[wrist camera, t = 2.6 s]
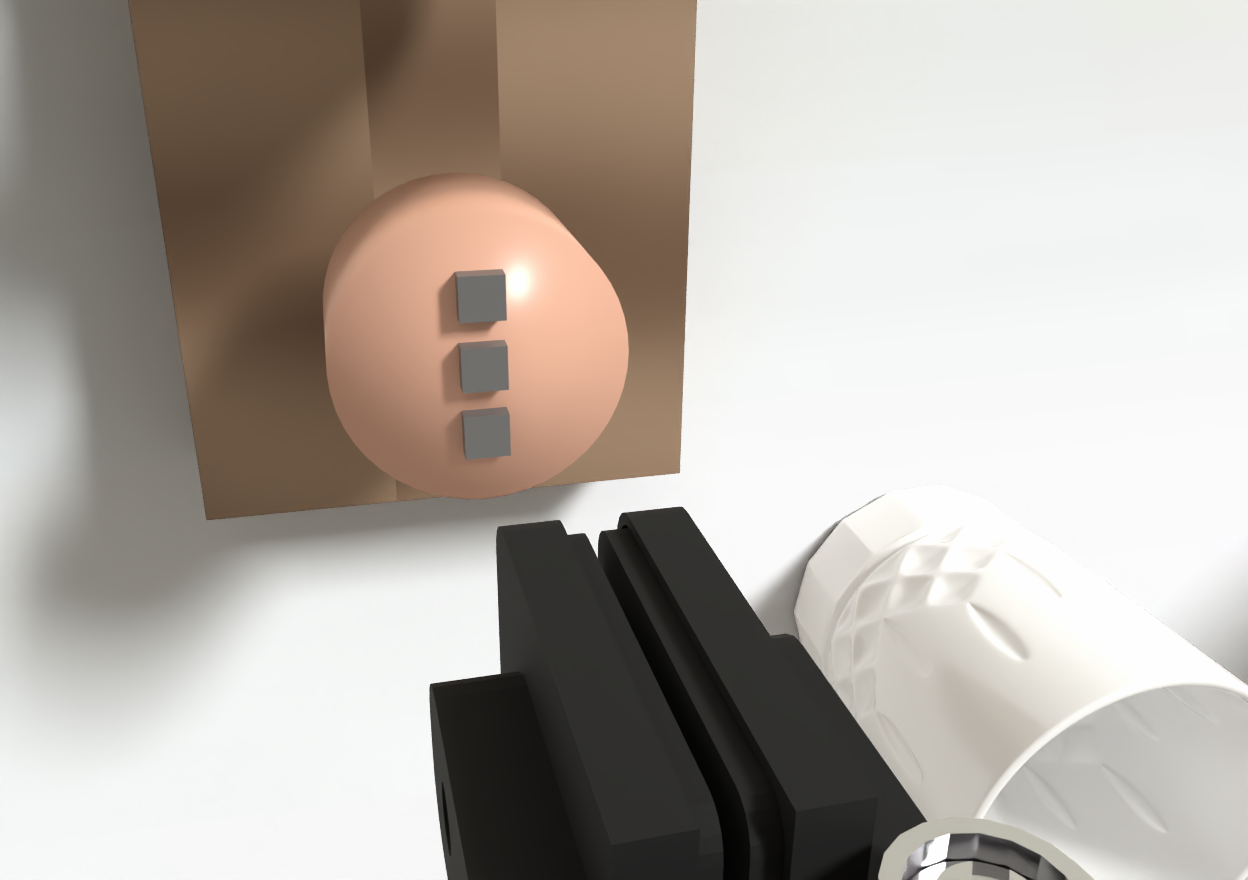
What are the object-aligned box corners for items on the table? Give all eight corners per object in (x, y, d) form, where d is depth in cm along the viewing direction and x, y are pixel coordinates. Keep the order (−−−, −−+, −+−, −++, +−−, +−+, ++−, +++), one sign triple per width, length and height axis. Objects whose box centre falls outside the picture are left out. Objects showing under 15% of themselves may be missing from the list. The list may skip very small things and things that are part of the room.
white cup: (717, 600, 31) (882, 870, 22) (941, 405, 30) (1205, 604, 22) (870, 750, 35) (1065, 1033, 26) (1074, 579, 34) (1346, 810, 25)
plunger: (308, 142, 22) (311, 224, 16) (550, 136, 23) (636, 210, 17) (331, 373, 24) (340, 522, 18) (552, 356, 25) (631, 491, 19)
